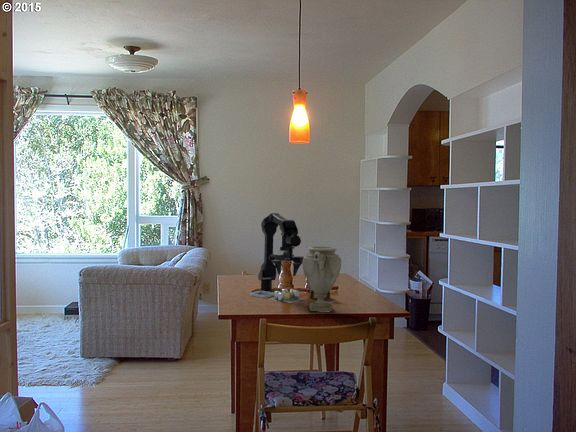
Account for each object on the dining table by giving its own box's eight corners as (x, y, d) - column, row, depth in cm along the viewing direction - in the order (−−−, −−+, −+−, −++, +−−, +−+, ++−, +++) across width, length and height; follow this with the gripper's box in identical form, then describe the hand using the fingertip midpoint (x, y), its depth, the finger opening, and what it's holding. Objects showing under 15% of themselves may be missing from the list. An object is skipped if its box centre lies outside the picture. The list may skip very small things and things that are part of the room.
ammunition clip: (328, 299, 293) (329, 276, 292) (330, 299, 291) (330, 276, 291) (309, 299, 291) (309, 276, 290) (310, 300, 289) (310, 277, 288)
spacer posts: (285, 295, 295) (286, 288, 295) (301, 298, 289) (302, 290, 289) (271, 299, 283) (271, 292, 283) (287, 302, 278) (287, 294, 278)
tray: (260, 294, 301) (260, 290, 301) (275, 296, 296) (275, 292, 296) (249, 297, 293) (249, 293, 293) (265, 299, 288) (265, 295, 287)
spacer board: (282, 296, 296) (282, 295, 296) (305, 300, 288) (305, 298, 288) (267, 301, 284) (267, 299, 284) (290, 304, 277) (290, 303, 277)
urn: (300, 303, 279) (302, 244, 277) (337, 304, 279) (339, 244, 277) (301, 315, 255) (303, 249, 253) (342, 316, 255) (344, 250, 253)
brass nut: (285, 297, 290) (285, 290, 290) (293, 298, 287) (294, 291, 287) (279, 299, 285) (279, 292, 285) (287, 300, 283) (287, 293, 282)
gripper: (263, 244, 283) (262, 275, 284) (294, 247, 273) (293, 279, 274) (275, 243, 292) (274, 272, 293) (306, 245, 282) (305, 276, 283)
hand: (286, 275), depth 286 cm, fingers open, 9 cm apart
